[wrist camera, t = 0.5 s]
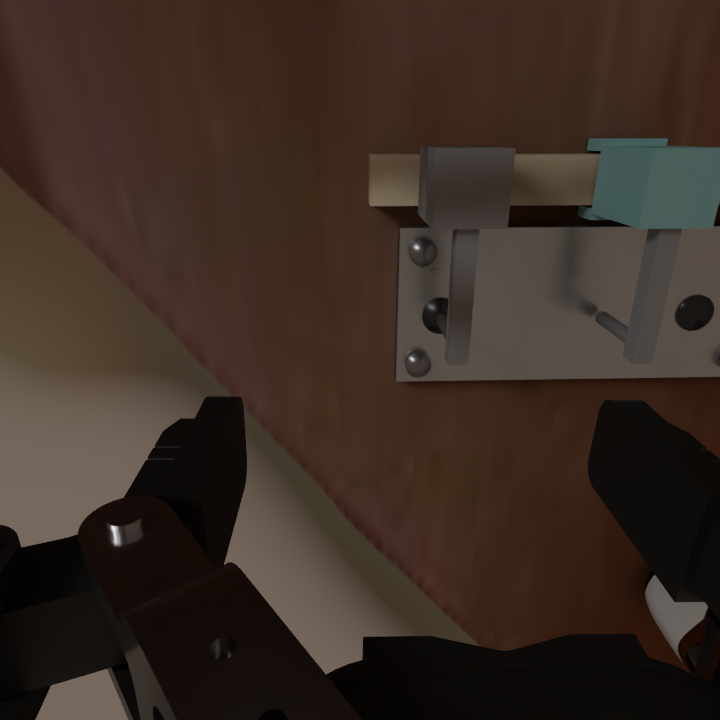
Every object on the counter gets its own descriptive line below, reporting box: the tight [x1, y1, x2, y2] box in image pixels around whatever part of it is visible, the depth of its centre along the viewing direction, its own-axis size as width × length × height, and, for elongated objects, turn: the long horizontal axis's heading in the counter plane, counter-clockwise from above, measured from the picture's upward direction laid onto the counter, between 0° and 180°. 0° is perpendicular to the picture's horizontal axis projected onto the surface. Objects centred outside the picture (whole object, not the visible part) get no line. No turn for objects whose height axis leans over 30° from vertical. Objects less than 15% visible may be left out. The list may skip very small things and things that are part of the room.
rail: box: [369, 146, 720, 365], centre depth 33 cm, size 12×28×8 cm, turn 90°
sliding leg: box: [577, 138, 720, 364], centre depth 33 cm, size 12×4×8 cm, turn 0°
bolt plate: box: [394, 224, 720, 381], centre depth 38 cm, size 11×26×2 cm, turn 90°
